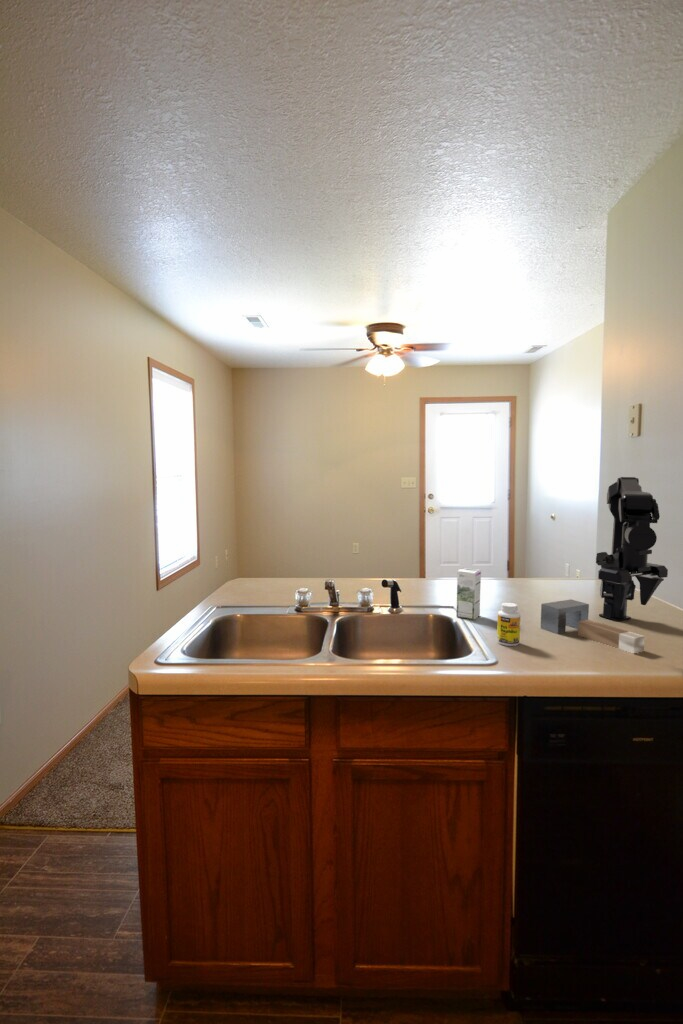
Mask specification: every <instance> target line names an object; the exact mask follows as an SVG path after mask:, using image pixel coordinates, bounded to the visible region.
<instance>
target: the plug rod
mask: <svg viewBox="0 0 683 1024" xmlns="http://www.w3.org/2000/svg"><path fill="white" fill-rule="evenodd" d="M580 636H581V638H583V637H584V639H586V638H587V640H589V639H590V641H592V640H593V642H595V641H596V643H598V642H600V643H599V644H601V643H603V644H602V645H604V644H606V645H605V646H607V645H609V646H608V647H610V646H612V647H611V648H613V647H615V648H614V649H616V648H618V649H617V650H619V649H621V650H620V651H622V650H624V651H623V652H625V651H627V652H626V653H628V652H631V653H637V654H639V653H638V652H641V653H643V652H642V651H644V652H645V638H646V637H645V635H642V634H638V633H635V632H633V631H629V630H624V629H622V628H618V627H615V626H611V625H608V624H604V623H601V622H599V621H594V620H592V619H588V620H583V621H579V624H578V629H577V637H580ZM631 653H630V654H631Z"/></svg>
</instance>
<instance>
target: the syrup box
mask: <svg viewBox="0 0 683 1024" xmlns="http://www.w3.org/2000/svg"><path fill="white" fill-rule="evenodd" d="M456 574H457V575H456V577H457V578H456V579H457V580H456V618H460V619H461V618H462V619H466V618H467V619H468V620H472V621H473V620H476V619H477V618H479V617H480V616H481V615H480V614H481V583H482V582H481V580H482V569H477V568H468V567H467V568H465V567H462V568H460V569H458V570H457V573H456ZM478 616H479V617H478ZM467 619H466V620H467Z"/></svg>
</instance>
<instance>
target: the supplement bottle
mask: <svg viewBox="0 0 683 1024" xmlns="http://www.w3.org/2000/svg"><path fill="white" fill-rule="evenodd" d="M500 609H501V610H498V612H497V627H496V629H497V630H496V631H497V632H496V641H497V643H498V644H499V645H502V646H506V647H515V646H518V645H519V644H520V634H521V613H520V612H519V611H518V604H517V603H513V602H502V603H501V607H500Z"/></svg>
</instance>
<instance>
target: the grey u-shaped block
mask: <svg viewBox="0 0 683 1024" xmlns="http://www.w3.org/2000/svg"><path fill="white" fill-rule="evenodd" d="M540 606H541V607H540V629H542V628H543V629H542V630H545V631H548V632H551V633H554V634H556V633H557V635H558V634H564V633H566V630H567V628H566V627H567V626H569V627H571V628H574V629H577V630H578V624H579V621H583V620H589V608H590V604H589V603H586V602H581V601H578V600H575V599H564V600H559V601H558V600H557V601H551V602H545V603H544V602H543V603H541V604H540Z"/></svg>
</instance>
